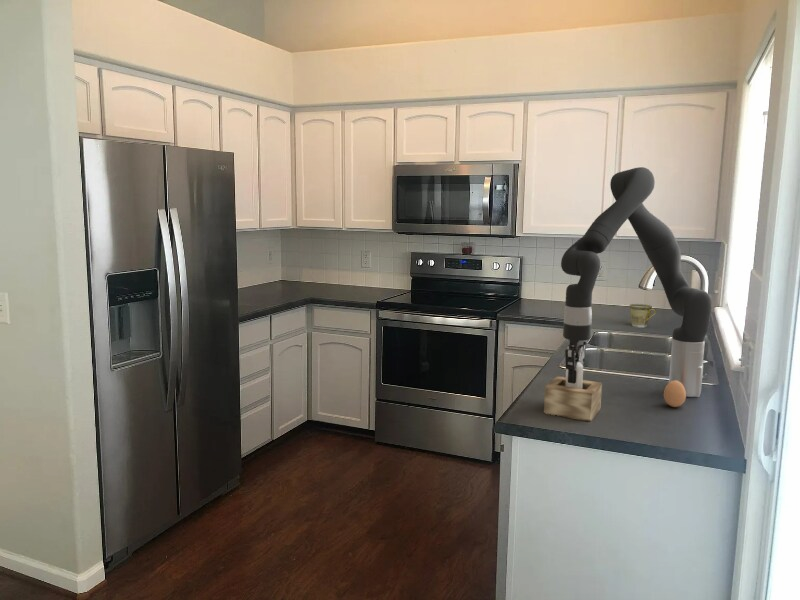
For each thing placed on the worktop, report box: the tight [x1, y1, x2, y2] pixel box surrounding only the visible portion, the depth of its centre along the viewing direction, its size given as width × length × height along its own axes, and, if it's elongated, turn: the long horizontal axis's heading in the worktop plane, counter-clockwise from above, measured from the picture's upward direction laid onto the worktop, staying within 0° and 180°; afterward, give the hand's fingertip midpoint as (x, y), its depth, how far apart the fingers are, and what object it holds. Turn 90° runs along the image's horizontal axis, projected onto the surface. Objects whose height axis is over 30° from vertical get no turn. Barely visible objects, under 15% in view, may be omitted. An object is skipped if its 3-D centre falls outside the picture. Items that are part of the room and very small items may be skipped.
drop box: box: [543, 375, 603, 423], centre depth 185 cm, size 13×12×8 cm
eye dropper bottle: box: [565, 358, 584, 389], centre depth 184 cm, size 4×6×12 cm
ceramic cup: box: [629, 303, 657, 328], centre depth 307 cm, size 13×10×10 cm
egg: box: [663, 380, 687, 408], centre depth 190 cm, size 6×6×8 cm
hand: (574, 380), depth 184 cm, fingers closed on eye dropper bottle, 5 cm apart
